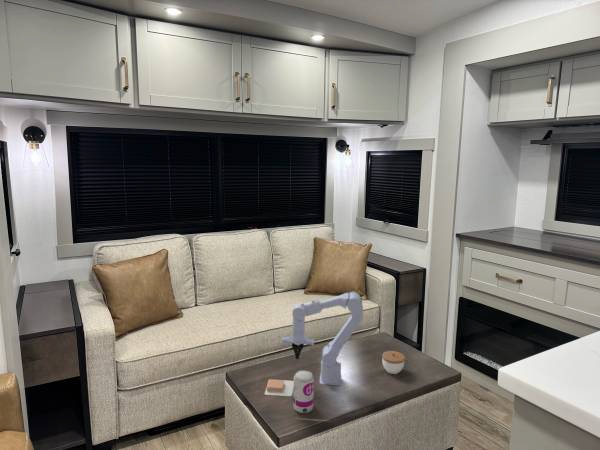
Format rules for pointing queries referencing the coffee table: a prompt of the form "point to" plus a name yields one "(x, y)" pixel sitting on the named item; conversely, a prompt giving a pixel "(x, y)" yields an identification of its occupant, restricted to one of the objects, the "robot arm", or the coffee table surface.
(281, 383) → the tile
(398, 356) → the lidded jar
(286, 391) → the mat
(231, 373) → the coffee table surface
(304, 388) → the supplement can
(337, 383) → the robot arm
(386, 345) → the coffee table surface
